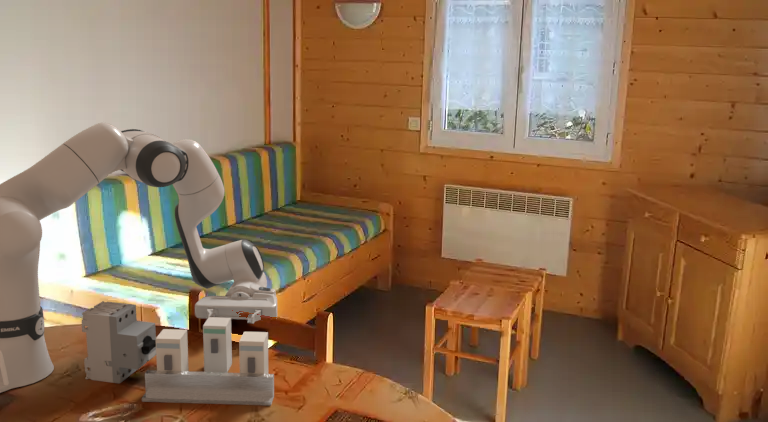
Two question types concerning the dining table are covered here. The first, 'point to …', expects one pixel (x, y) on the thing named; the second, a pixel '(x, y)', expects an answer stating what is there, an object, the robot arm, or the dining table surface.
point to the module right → (254, 352)
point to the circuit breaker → (116, 341)
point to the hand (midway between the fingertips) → (230, 320)
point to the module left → (172, 350)
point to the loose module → (217, 344)
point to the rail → (209, 387)
